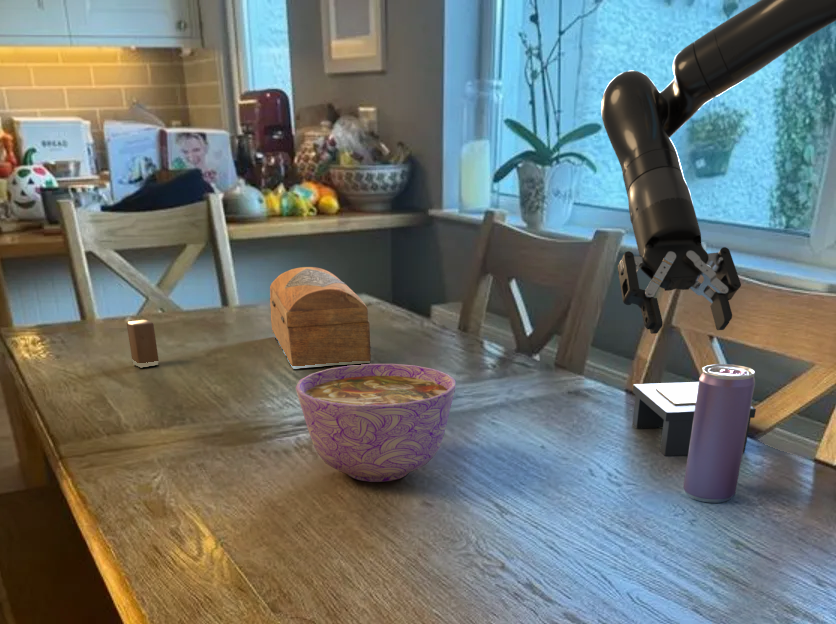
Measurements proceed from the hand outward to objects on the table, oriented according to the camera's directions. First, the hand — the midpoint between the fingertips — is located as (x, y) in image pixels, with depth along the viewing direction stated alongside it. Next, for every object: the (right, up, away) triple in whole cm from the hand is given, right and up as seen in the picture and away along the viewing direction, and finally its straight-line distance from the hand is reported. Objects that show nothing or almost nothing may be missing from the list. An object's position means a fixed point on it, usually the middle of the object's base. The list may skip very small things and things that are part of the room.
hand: (690, 328), depth 109 cm
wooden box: (-50, +17, +70) cm, 87 cm away
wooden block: (-82, +11, +61) cm, 103 cm away
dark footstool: (+5, -10, +18) cm, 21 cm away
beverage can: (+2, -20, -1) cm, 20 cm away
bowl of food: (-38, -16, +9) cm, 42 cm away
